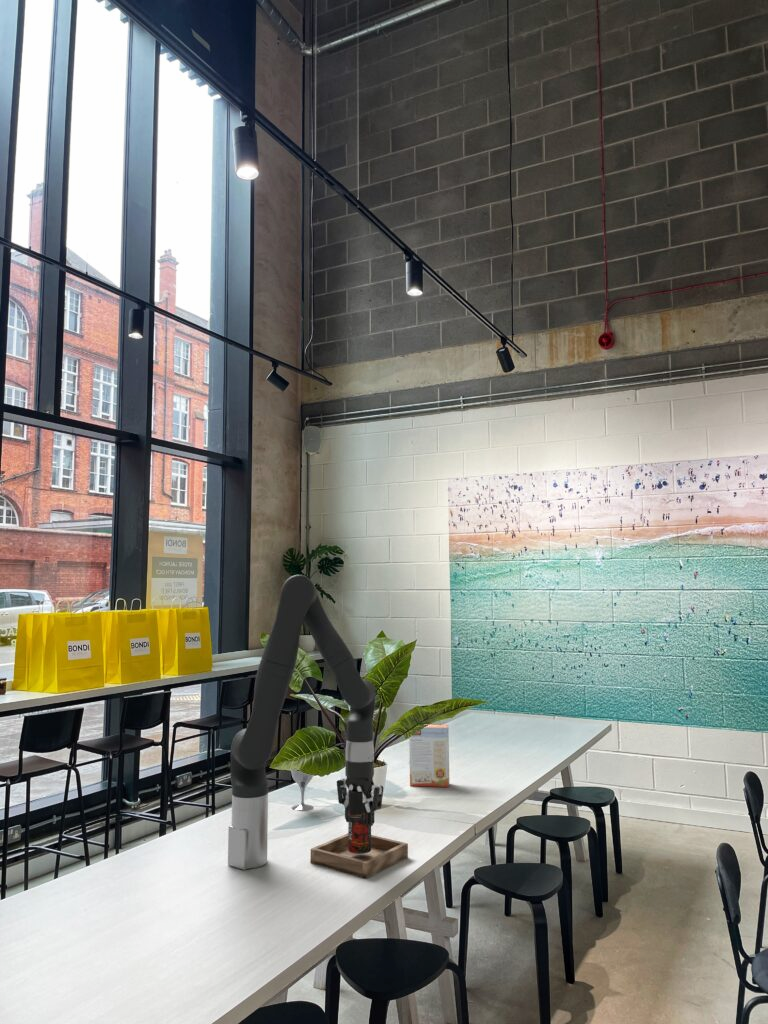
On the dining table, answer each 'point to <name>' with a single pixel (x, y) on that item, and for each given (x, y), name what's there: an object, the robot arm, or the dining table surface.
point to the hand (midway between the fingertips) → (359, 823)
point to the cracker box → (430, 756)
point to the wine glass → (302, 788)
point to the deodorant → (358, 824)
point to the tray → (359, 856)
